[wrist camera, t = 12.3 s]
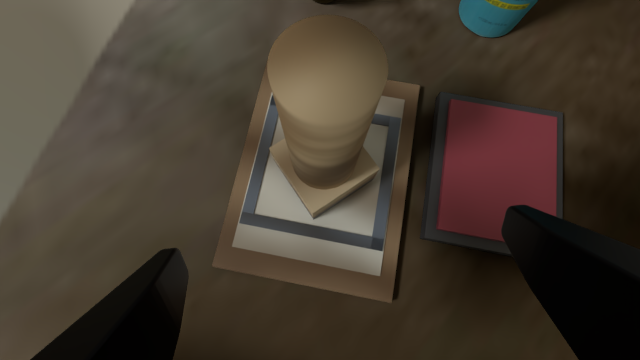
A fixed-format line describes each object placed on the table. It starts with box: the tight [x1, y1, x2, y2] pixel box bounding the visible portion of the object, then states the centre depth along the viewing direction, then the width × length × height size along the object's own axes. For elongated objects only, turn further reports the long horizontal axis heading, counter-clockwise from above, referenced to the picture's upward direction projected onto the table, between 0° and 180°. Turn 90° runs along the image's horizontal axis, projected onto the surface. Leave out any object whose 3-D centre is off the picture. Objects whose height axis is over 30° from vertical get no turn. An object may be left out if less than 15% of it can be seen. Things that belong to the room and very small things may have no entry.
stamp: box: [267, 15, 388, 220], centre depth 17 cm, size 5×5×12 cm
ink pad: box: [420, 92, 563, 257], centre depth 23 cm, size 11×9×1 cm
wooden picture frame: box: [212, 60, 420, 303], centre depth 23 cm, size 16×12×1 cm
